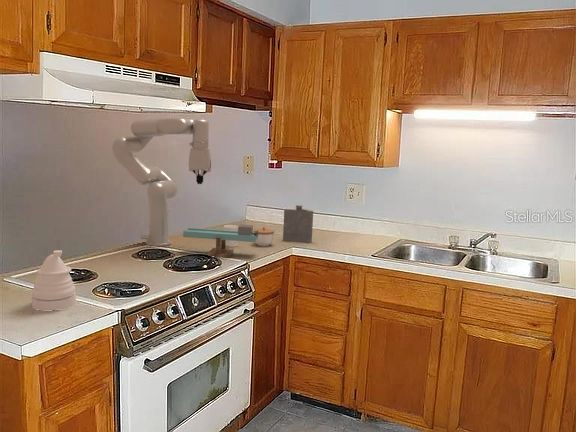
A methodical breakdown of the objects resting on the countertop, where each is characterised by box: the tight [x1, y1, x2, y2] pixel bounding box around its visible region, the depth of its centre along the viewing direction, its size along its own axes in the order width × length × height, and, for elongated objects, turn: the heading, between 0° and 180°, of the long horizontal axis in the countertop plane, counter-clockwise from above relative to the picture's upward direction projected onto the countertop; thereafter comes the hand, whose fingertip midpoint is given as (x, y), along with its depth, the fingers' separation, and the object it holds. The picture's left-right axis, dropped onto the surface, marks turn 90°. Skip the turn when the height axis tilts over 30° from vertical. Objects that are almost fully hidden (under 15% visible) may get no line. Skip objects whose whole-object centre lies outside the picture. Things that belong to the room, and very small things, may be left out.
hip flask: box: [282, 204, 314, 244], centre depth 279 cm, size 16×4×20 cm, turn 80°
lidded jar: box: [253, 226, 275, 247], centre depth 268 cm, size 11×11×9 cm
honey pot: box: [31, 249, 77, 310], centre depth 165 cm, size 13×13×18 cm
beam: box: [182, 227, 258, 243], centre depth 243 cm, size 34×10×5 cm, turn 85°
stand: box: [206, 237, 235, 259], centre depth 243 cm, size 10×13×9 cm
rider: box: [237, 224, 254, 236], centre depth 241 cm, size 6×6×4 cm
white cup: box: [223, 224, 239, 248], centre depth 263 cm, size 8×8×10 cm
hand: (199, 183), depth 249 cm, fingers closed
